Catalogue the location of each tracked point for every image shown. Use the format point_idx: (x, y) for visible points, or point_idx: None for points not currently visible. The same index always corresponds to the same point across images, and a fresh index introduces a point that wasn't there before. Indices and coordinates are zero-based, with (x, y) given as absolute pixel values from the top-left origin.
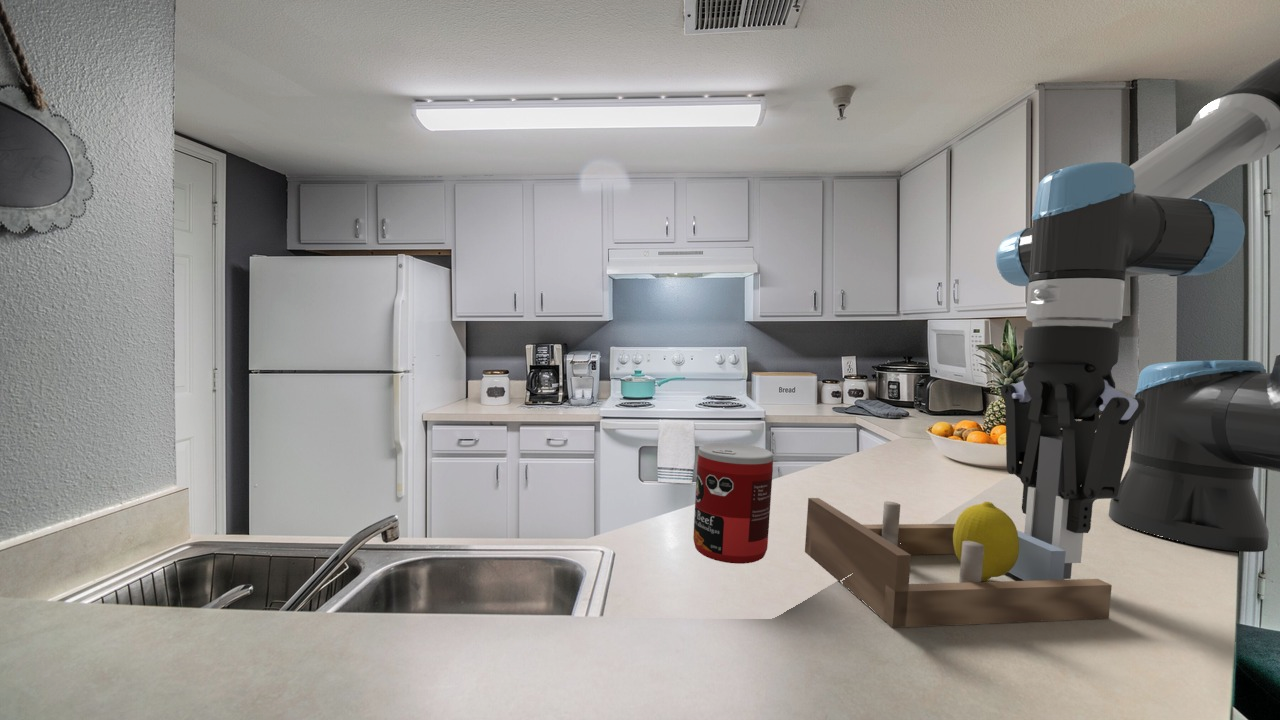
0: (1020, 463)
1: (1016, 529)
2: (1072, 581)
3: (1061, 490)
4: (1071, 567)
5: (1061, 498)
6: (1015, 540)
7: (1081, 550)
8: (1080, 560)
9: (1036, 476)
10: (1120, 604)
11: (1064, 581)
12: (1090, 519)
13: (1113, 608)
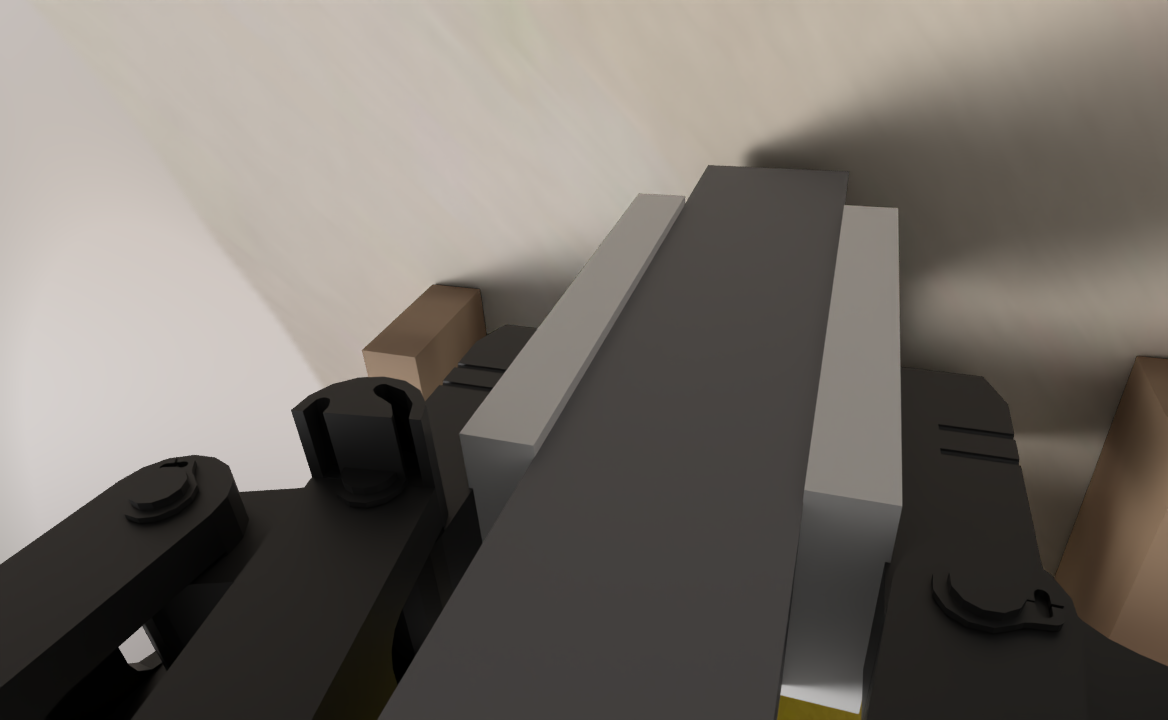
0: (159, 639)
1: (807, 708)
2: (1147, 608)
3: (778, 707)
4: (843, 193)
5: (838, 698)
6: (859, 717)
7: (895, 241)
8: (897, 217)
9: (419, 636)
10: (1139, 117)
11: (1130, 639)
12: (1013, 459)
13: (1154, 216)
